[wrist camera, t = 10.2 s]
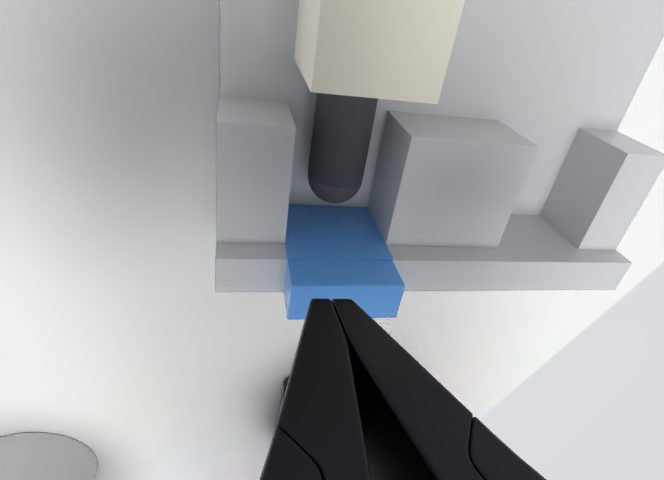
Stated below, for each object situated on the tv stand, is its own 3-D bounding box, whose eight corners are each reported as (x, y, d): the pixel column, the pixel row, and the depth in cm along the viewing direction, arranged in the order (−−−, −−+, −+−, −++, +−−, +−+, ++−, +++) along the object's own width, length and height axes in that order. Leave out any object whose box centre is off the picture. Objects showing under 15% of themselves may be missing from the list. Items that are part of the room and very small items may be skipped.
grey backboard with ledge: (550, 231, 24) (639, 312, 19) (220, 221, 20) (213, 320, 15) (699, -84, 16) (920, -99, 11) (221, -196, 13) (208, -302, 7)
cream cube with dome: (369, 190, 19) (399, 246, 16) (283, 186, 18) (294, 245, 15) (427, -98, 14) (495, -115, 10) (309, -122, 13) (337, -150, 9)
